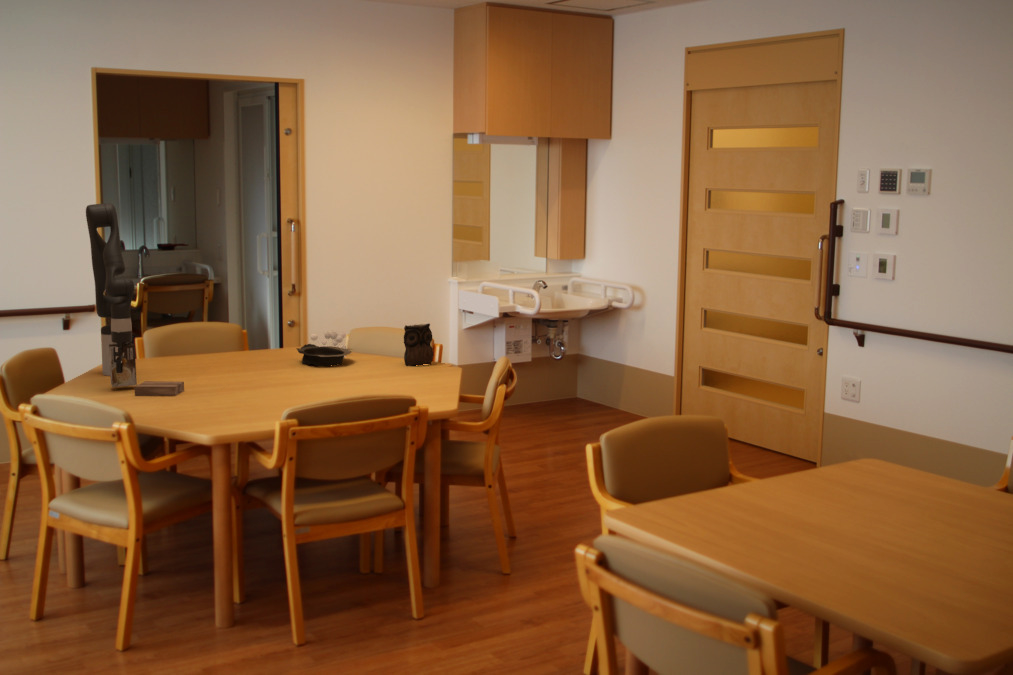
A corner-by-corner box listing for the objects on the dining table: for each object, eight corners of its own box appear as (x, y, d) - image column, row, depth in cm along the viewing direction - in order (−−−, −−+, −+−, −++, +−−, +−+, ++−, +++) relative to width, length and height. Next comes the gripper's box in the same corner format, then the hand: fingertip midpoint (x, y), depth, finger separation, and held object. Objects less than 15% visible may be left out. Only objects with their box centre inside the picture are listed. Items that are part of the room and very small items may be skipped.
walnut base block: (145, 391, 383) (145, 381, 383) (184, 391, 384) (183, 381, 383) (134, 397, 371) (134, 386, 371) (174, 397, 372) (174, 386, 371)
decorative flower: (304, 355, 485) (304, 327, 483) (350, 355, 487) (350, 327, 485) (298, 362, 460) (298, 333, 458) (346, 362, 462) (346, 333, 460)
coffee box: (135, 382, 388) (133, 342, 386) (137, 385, 383) (135, 345, 380) (110, 384, 384) (108, 344, 382) (111, 387, 378) (110, 346, 376)
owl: (434, 365, 454) (434, 322, 451) (424, 369, 442) (425, 325, 439) (409, 364, 457) (409, 321, 455) (398, 368, 445) (398, 324, 443)
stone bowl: (285, 366, 447) (285, 346, 446) (328, 360, 466) (328, 341, 465) (319, 372, 431) (319, 351, 430) (363, 366, 450) (362, 346, 449)
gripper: (117, 327, 387) (119, 367, 389) (105, 332, 373) (107, 374, 375) (136, 327, 388) (138, 368, 390) (125, 332, 374) (127, 374, 376)
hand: (123, 370), depth 383 cm, fingers closed on coffee box, 8 cm apart
